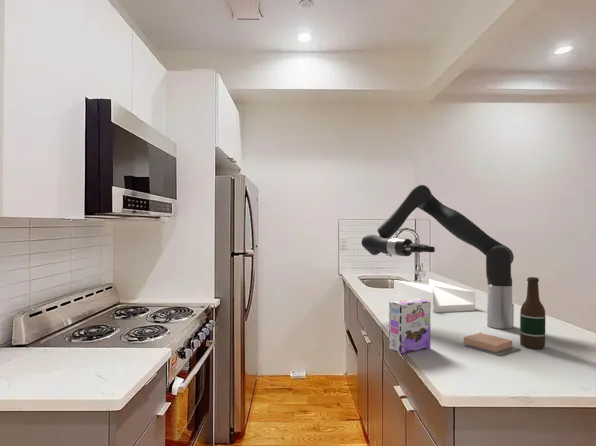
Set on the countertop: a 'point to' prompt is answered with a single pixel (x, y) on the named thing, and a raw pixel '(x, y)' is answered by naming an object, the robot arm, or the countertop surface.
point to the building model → (437, 295)
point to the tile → (488, 342)
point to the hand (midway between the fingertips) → (433, 249)
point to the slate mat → (496, 352)
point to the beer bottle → (532, 318)
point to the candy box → (409, 325)
